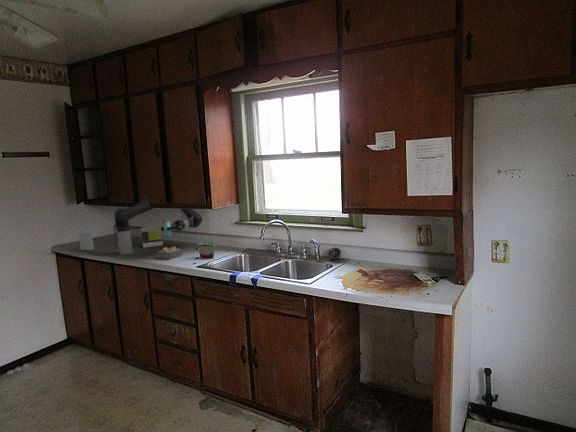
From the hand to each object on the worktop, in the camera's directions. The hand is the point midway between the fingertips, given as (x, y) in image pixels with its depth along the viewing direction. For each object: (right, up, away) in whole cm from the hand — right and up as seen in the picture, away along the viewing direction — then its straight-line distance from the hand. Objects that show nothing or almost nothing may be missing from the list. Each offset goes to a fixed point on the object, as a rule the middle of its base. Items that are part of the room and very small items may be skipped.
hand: (164, 229), depth 271 cm
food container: (+32, -19, -4) cm, 37 cm away
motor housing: (+3, -20, +2) cm, 20 cm away
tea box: (-24, -15, +45) cm, 53 cm away
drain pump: (+2, -6, +3) cm, 7 cm away
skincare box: (-73, -18, +39) cm, 85 cm away
